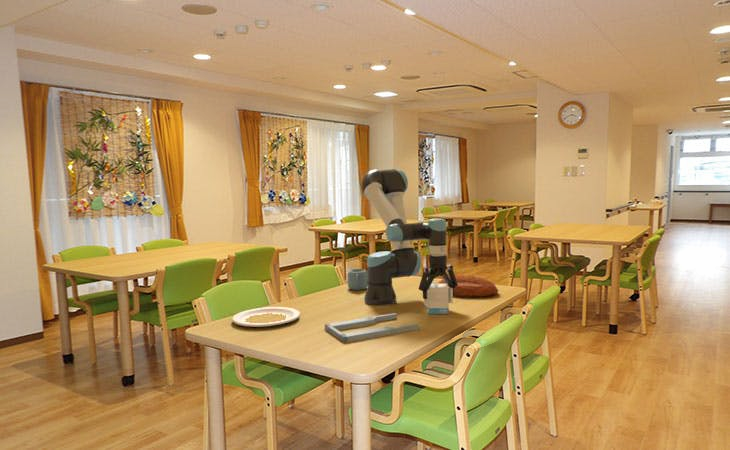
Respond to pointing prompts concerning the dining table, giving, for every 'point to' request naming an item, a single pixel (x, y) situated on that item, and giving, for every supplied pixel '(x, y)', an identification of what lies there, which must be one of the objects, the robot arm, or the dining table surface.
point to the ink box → (438, 298)
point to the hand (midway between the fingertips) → (438, 304)
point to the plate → (289, 312)
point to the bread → (472, 286)
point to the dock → (368, 333)
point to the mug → (357, 279)
